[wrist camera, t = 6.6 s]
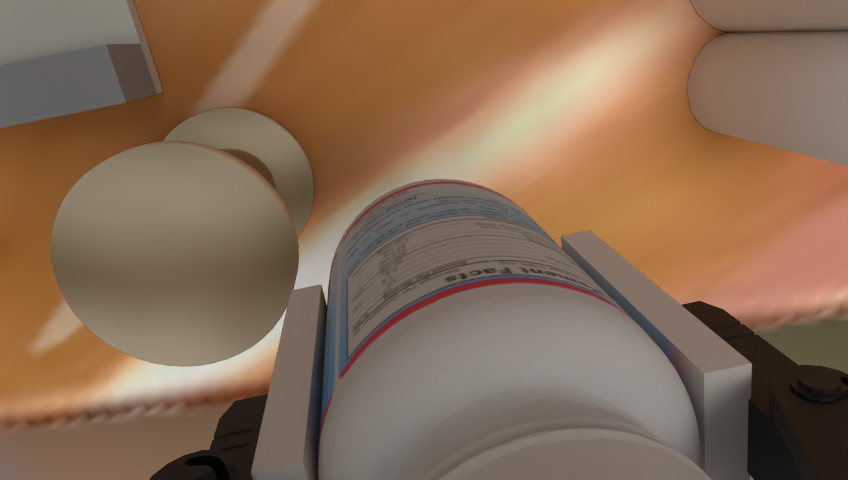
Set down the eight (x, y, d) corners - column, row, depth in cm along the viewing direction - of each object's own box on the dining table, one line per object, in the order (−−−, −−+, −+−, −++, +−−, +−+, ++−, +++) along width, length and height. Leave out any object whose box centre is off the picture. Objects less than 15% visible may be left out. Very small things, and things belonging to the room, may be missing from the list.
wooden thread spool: (133, 125, 29) (10, 174, 18) (292, 92, 29) (260, 123, 19) (184, 271, 31) (102, 388, 21) (330, 240, 31) (320, 339, 21)
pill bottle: (490, 394, 19) (679, 879, 8) (298, 335, 17) (220, 830, 7) (581, 217, 17) (966, 531, 6) (378, 136, 16) (444, 367, 5)
